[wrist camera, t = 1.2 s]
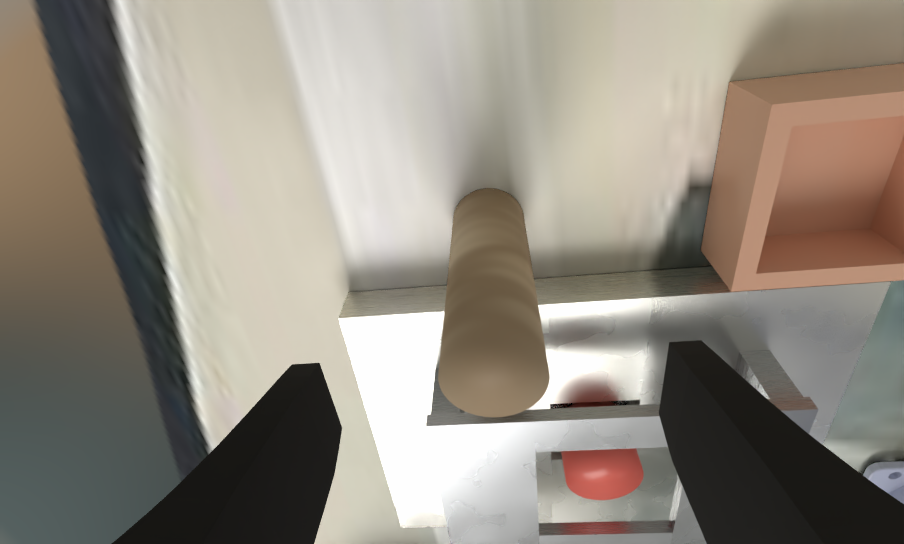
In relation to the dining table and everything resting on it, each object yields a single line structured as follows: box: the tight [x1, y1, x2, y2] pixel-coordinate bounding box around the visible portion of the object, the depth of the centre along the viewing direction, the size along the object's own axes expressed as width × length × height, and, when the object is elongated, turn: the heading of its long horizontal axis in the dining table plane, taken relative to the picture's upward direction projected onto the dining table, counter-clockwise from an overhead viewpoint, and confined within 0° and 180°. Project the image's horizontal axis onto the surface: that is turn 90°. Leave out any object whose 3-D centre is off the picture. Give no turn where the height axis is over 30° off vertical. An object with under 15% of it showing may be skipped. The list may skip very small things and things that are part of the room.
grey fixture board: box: [338, 266, 891, 544], centre depth 20 cm, size 18×13×4 cm
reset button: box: [561, 401, 644, 500], centre depth 20 cm, size 3×3×2 cm
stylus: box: [438, 188, 550, 417], centre depth 14 cm, size 2×2×8 cm
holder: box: [701, 63, 904, 292], centre depth 15 cm, size 6×6×2 cm
